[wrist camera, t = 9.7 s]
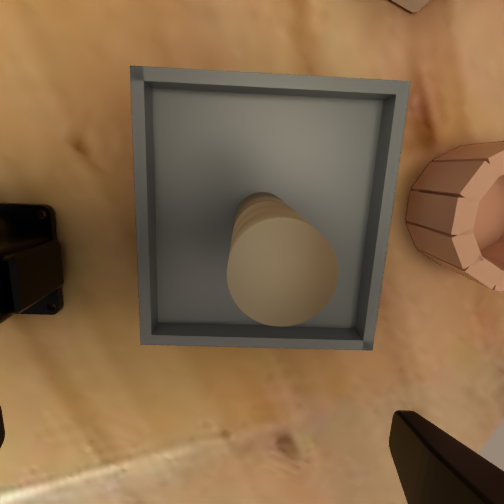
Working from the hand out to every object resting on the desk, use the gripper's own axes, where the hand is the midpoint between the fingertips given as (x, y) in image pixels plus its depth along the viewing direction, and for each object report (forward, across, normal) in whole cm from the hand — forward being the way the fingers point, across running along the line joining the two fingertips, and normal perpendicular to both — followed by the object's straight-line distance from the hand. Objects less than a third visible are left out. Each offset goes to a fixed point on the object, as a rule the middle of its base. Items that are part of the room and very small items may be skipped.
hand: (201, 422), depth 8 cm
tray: (+13, -2, -3) cm, 13 cm away
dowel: (+12, -2, -3) cm, 13 cm away
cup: (+13, -14, -4) cm, 20 cm away
